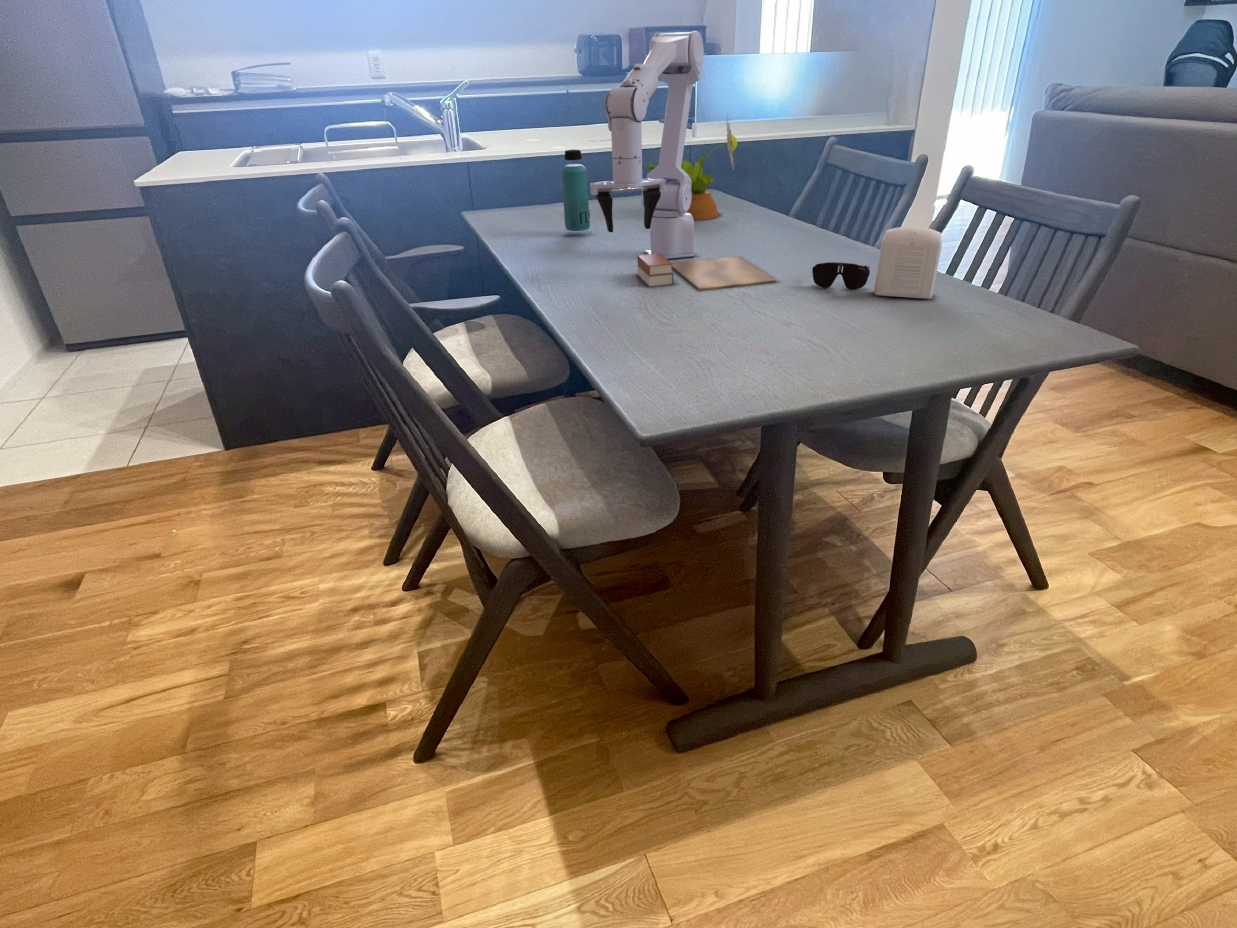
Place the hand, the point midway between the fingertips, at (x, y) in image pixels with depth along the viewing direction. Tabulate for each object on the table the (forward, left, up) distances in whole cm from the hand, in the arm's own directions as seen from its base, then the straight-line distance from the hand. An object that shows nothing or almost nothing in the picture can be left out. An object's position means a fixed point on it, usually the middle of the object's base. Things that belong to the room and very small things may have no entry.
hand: (628, 229), depth 149 cm
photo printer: (-44, +30, -10) cm, 54 cm away
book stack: (-4, +4, -10) cm, 11 cm away
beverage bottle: (+3, -42, -10) cm, 43 cm away
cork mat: (-18, +4, -10) cm, 21 cm away
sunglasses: (-38, +18, -10) cm, 43 cm away
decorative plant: (-31, -54, -10) cm, 63 cm away
